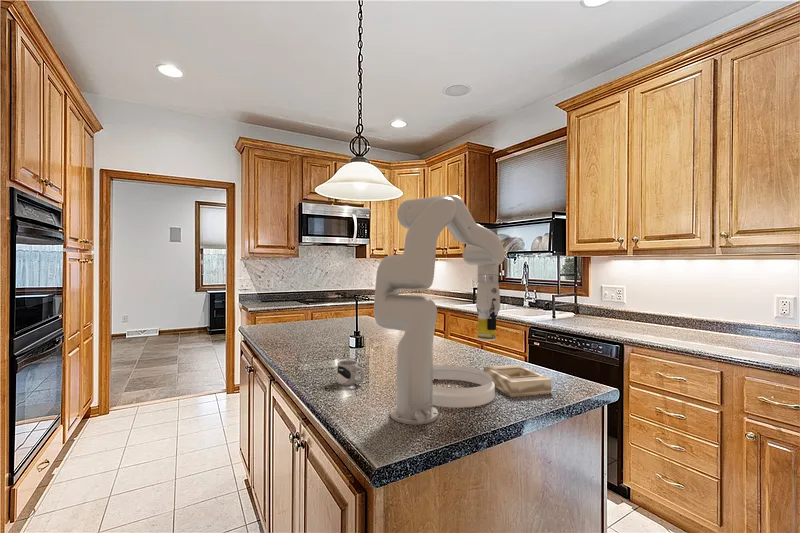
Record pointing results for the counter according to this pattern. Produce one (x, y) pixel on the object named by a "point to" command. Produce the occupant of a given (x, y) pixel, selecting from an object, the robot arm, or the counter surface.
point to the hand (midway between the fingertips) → (486, 327)
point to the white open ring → (462, 395)
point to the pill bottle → (485, 327)
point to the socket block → (518, 380)
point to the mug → (349, 373)
